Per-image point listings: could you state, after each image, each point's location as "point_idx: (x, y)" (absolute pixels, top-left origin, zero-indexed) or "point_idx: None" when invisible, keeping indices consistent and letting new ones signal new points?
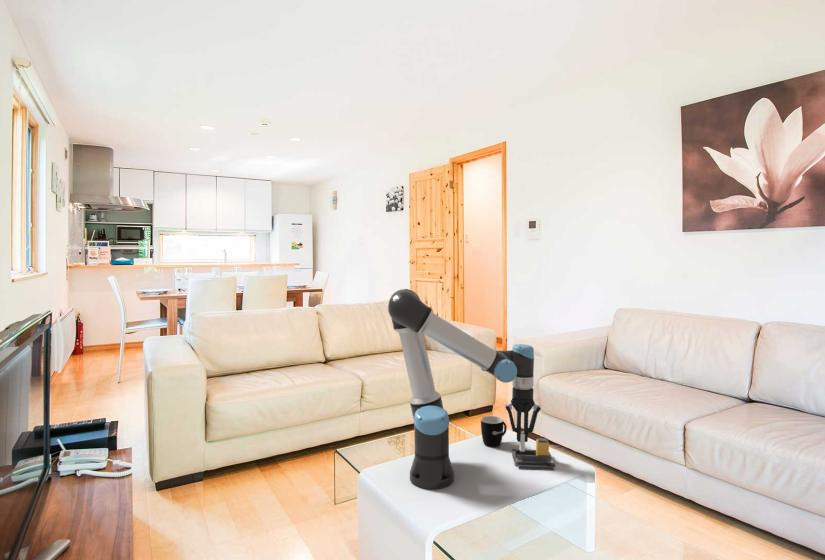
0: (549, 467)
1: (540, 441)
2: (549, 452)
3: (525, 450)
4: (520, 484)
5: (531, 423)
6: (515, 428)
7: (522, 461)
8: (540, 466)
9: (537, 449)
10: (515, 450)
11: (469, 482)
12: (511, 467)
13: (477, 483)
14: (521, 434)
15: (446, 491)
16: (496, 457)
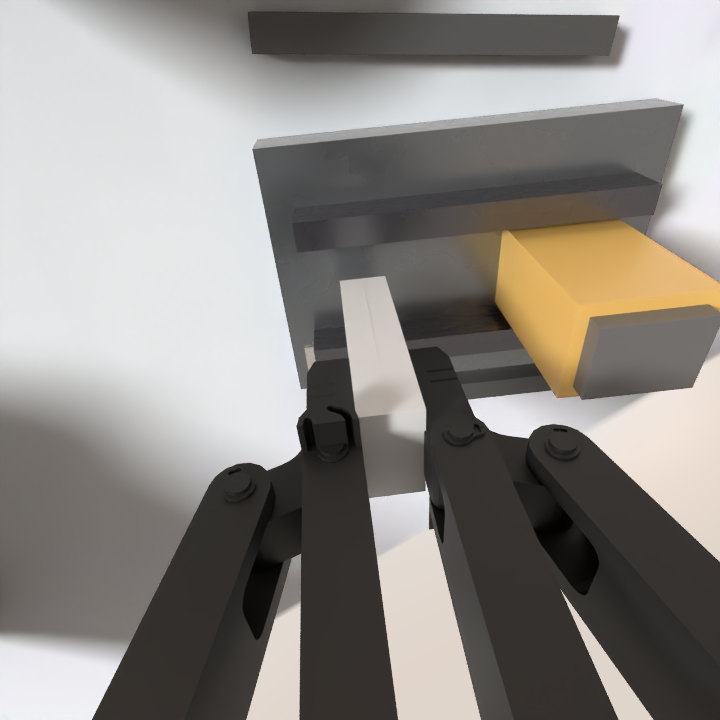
0: (544, 388)
1: (601, 389)
2: (675, 121)
3: (405, 237)
4: None
5: (608, 648)
6: (283, 584)
7: None
8: (483, 393)
9: (526, 343)
10: (294, 232)
11: (74, 565)
12: (274, 388)
13: (118, 564)
14: (376, 491)
15: (11, 627)
16: (112, 233)
